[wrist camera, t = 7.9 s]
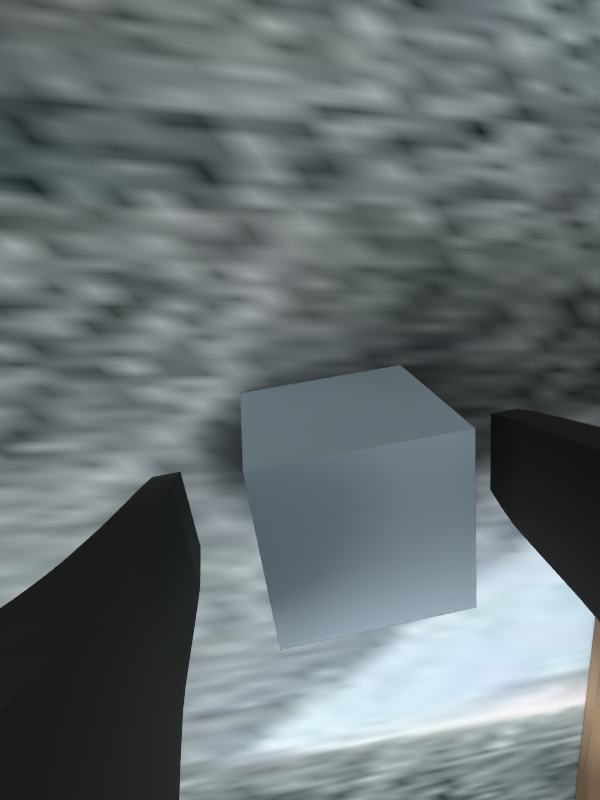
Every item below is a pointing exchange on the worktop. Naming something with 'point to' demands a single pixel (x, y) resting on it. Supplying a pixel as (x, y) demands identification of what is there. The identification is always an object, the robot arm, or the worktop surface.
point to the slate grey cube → (360, 503)
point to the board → (591, 730)
